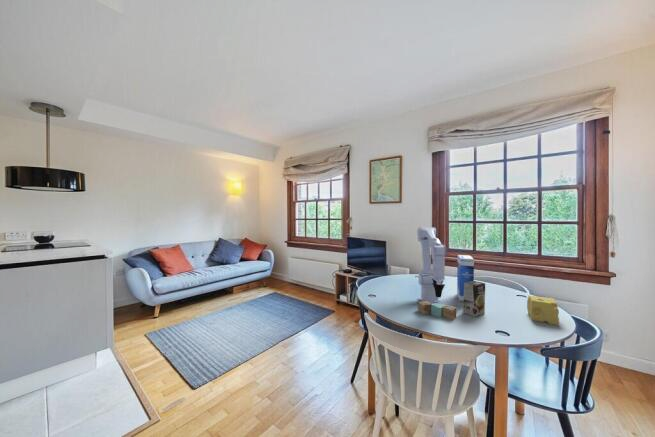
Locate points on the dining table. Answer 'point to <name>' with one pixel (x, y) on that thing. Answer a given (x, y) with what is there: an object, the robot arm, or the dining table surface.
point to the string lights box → (464, 273)
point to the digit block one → (424, 307)
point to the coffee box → (474, 298)
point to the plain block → (437, 309)
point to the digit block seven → (449, 312)
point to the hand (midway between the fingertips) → (437, 294)
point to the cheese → (543, 309)
